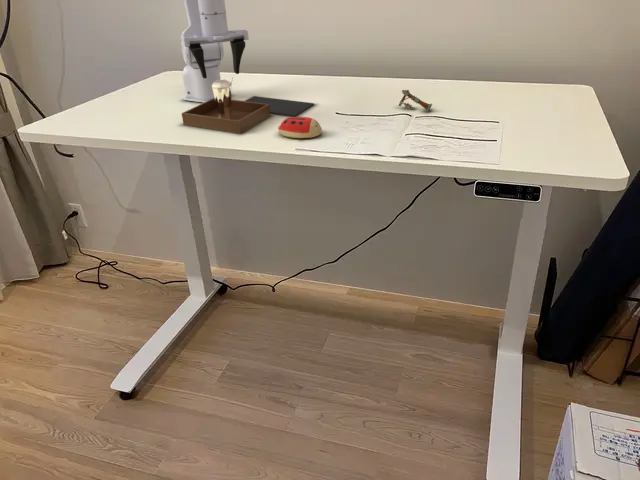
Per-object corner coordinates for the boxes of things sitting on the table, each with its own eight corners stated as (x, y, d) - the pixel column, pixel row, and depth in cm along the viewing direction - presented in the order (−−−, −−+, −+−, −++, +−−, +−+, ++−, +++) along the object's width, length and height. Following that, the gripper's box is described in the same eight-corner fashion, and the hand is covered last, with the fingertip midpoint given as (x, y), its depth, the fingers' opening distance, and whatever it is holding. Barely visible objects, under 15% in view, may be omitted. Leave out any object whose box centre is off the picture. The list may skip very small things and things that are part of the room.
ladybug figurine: (319, 140, 121) (319, 124, 119) (275, 139, 122) (273, 123, 121) (324, 129, 127) (323, 114, 125) (281, 128, 128) (280, 113, 126)
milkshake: (235, 122, 132) (229, 79, 127) (213, 121, 133) (207, 79, 128) (241, 115, 136) (236, 74, 131) (220, 115, 137) (214, 73, 132)
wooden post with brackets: (397, 102, 139) (404, 86, 136) (424, 118, 137) (433, 103, 134) (394, 104, 137) (402, 88, 134) (422, 121, 136) (430, 105, 133)
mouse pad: (232, 108, 142) (232, 107, 142) (254, 97, 150) (254, 96, 150) (294, 116, 135) (294, 115, 135) (314, 104, 142) (313, 103, 142)
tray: (183, 125, 133) (181, 113, 131) (216, 108, 143) (214, 97, 141) (240, 133, 126) (239, 121, 125) (270, 115, 136) (269, 104, 135)
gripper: (183, 18, 118) (193, 83, 125) (249, 12, 122) (255, 74, 129) (177, 14, 124) (187, 76, 131) (241, 7, 128) (247, 68, 135)
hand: (220, 75), depth 130 cm, fingers open, 7 cm apart
